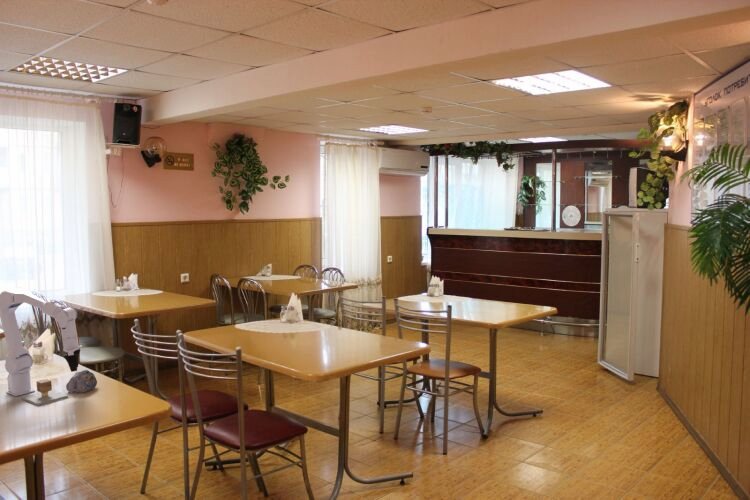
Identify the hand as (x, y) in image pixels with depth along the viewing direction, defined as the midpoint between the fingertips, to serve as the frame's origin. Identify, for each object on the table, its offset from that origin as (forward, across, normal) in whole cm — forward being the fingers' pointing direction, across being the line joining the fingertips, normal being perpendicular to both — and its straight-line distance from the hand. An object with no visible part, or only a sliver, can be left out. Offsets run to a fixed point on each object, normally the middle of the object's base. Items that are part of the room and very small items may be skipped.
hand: (74, 369), depth 259 cm
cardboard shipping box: (+7, +1, +12) cm, 14 cm away
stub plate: (+10, +1, +12) cm, 16 cm away
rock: (+11, +6, 0) cm, 13 cm away
